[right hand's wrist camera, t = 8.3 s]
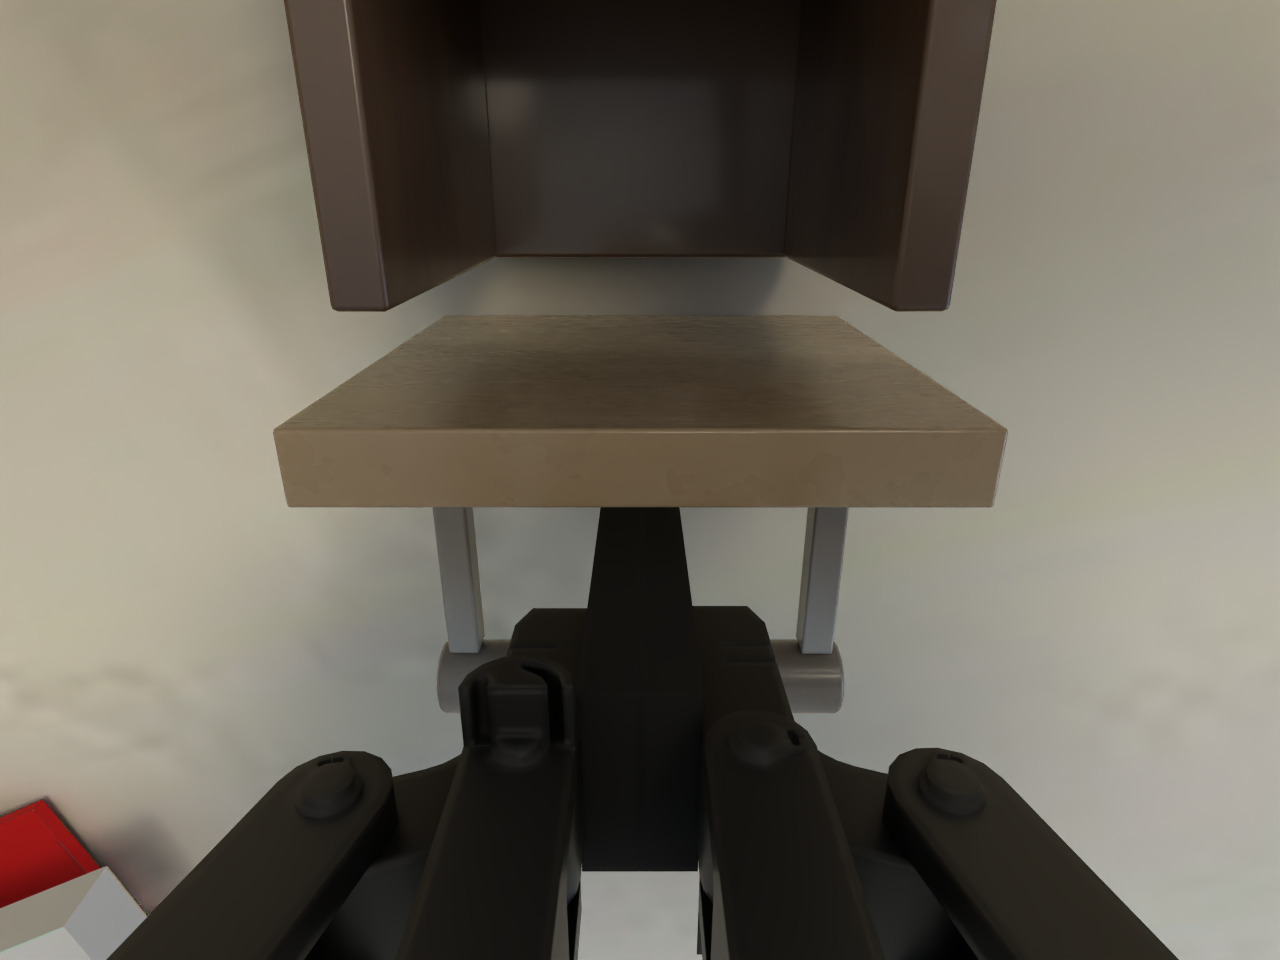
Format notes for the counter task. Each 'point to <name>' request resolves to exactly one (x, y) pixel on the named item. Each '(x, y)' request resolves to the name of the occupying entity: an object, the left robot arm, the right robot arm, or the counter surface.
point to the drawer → (641, 227)
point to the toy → (57, 893)
